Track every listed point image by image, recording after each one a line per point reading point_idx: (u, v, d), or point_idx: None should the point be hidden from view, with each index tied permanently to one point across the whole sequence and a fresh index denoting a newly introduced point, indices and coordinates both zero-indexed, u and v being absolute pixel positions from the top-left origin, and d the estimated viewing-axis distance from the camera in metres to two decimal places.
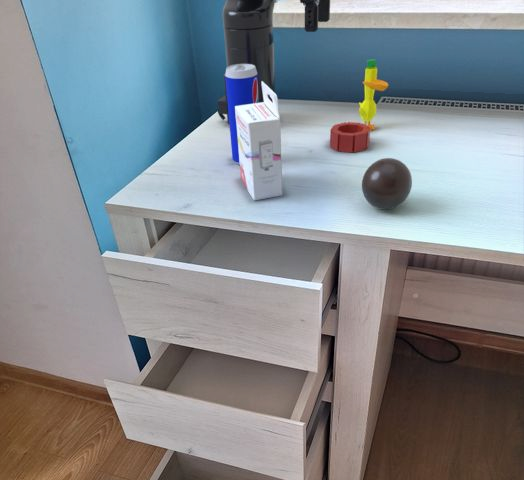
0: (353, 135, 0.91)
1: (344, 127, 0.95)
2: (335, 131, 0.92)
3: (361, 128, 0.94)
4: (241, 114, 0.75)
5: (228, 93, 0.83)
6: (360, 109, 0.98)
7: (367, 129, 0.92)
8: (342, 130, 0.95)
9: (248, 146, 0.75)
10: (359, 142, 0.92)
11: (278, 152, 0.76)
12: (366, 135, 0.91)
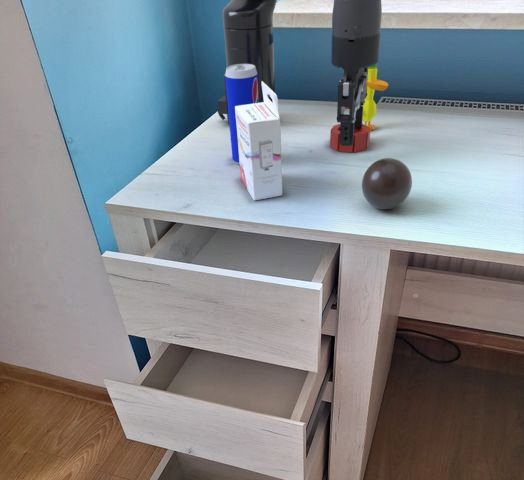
0: None
1: None
2: (335, 131, 0.92)
3: (361, 128, 0.94)
4: (241, 114, 0.75)
5: (228, 93, 0.83)
6: None
7: (367, 129, 0.92)
8: None
9: (248, 146, 0.75)
10: (359, 142, 0.92)
11: (278, 152, 0.76)
12: (366, 135, 0.92)
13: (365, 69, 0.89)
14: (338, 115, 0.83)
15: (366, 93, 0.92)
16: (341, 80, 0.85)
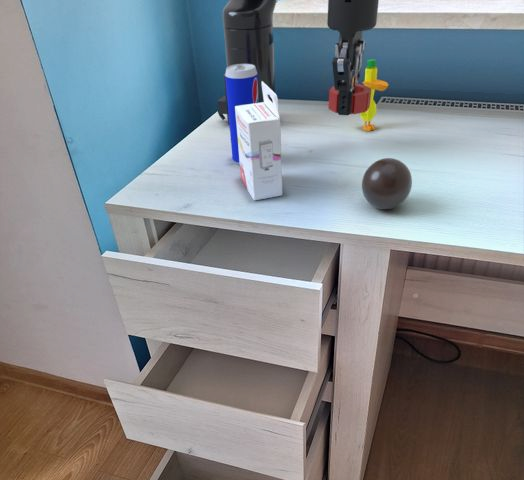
0: (353, 95, 0.86)
1: None
2: (334, 91, 0.88)
3: (361, 89, 0.89)
4: (241, 114, 0.75)
5: (228, 93, 0.83)
6: None
7: (368, 90, 0.88)
8: None
9: (248, 146, 0.75)
10: (359, 103, 0.87)
11: (278, 152, 0.76)
12: (366, 96, 0.87)
13: None
14: (336, 86, 0.83)
15: (359, 74, 0.87)
16: (336, 47, 0.81)
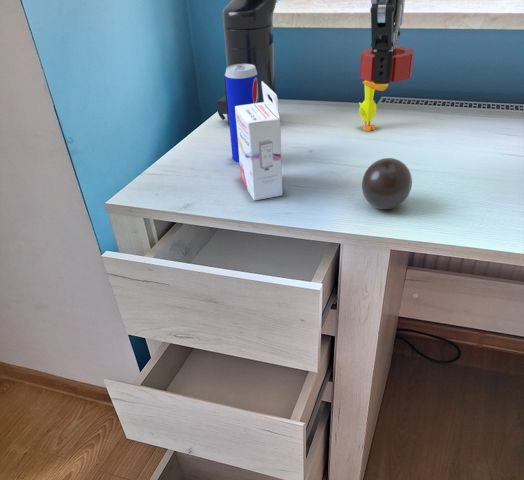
0: (393, 57, 0.68)
1: None
2: (368, 55, 0.69)
3: (401, 52, 0.71)
4: (241, 114, 0.75)
5: (228, 93, 0.83)
6: (360, 109, 0.98)
7: (410, 51, 0.69)
8: None
9: (248, 146, 0.75)
10: (401, 67, 0.69)
11: (278, 152, 0.76)
12: (410, 58, 0.69)
13: None
14: (373, 44, 0.64)
15: (399, 31, 0.69)
16: None
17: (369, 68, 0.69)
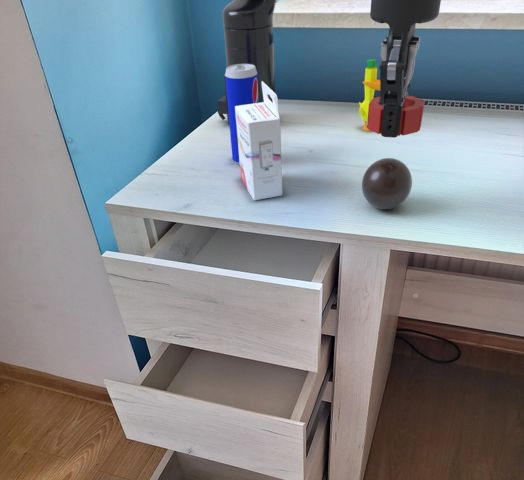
0: (403, 111, 0.64)
1: None
2: (376, 106, 0.66)
3: (411, 102, 0.67)
4: (241, 114, 0.75)
5: (228, 93, 0.83)
6: (360, 109, 0.98)
7: (421, 103, 0.66)
8: None
9: (248, 146, 0.75)
10: (411, 120, 0.65)
11: (278, 152, 0.76)
12: (420, 111, 0.65)
13: None
14: (382, 99, 0.61)
15: (409, 82, 0.65)
16: (383, 46, 0.59)
17: (377, 120, 0.66)
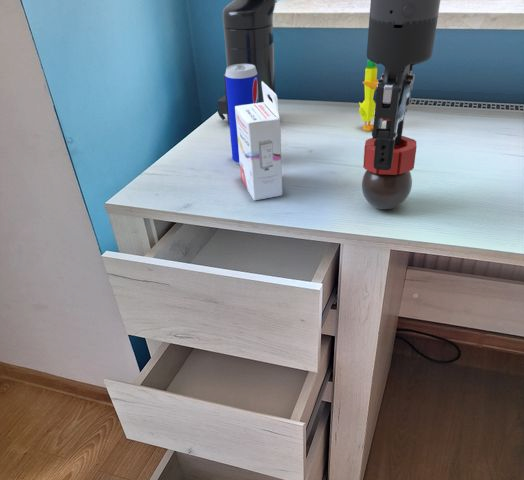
0: (399, 152, 0.68)
1: None
2: (372, 148, 0.69)
3: (403, 142, 0.71)
4: (241, 114, 0.75)
5: (228, 93, 0.83)
6: (360, 109, 0.98)
7: (413, 143, 0.70)
8: None
9: (248, 146, 0.75)
10: (406, 160, 0.69)
11: (278, 152, 0.76)
12: (414, 151, 0.69)
13: (410, 67, 0.66)
14: (374, 130, 0.60)
15: None
16: (379, 81, 0.62)
17: None
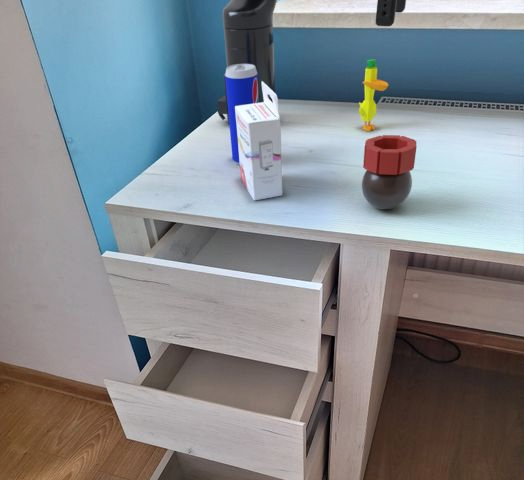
0: (399, 152, 0.68)
1: (379, 143, 0.72)
2: (372, 148, 0.69)
3: (403, 142, 0.71)
4: (241, 114, 0.75)
5: (228, 93, 0.83)
6: (360, 109, 0.98)
7: (413, 143, 0.70)
8: (377, 146, 0.72)
9: (248, 146, 0.75)
10: (406, 160, 0.69)
11: (278, 152, 0.76)
12: (414, 151, 0.69)
13: None
14: None
15: None
16: None
17: (374, 161, 0.69)
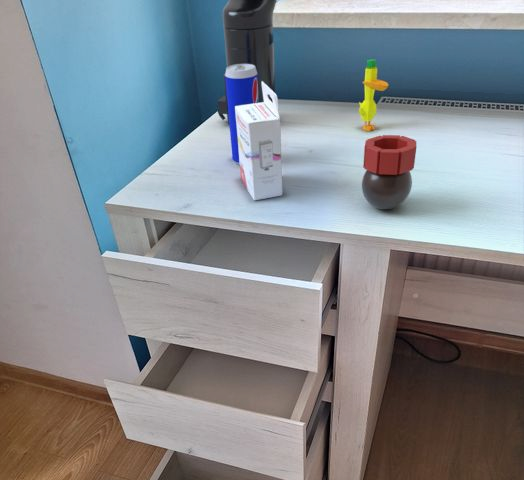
0: (399, 152, 0.68)
1: (379, 143, 0.72)
2: (372, 148, 0.69)
3: (403, 142, 0.71)
4: (241, 114, 0.75)
5: (228, 93, 0.83)
6: (360, 109, 0.98)
7: (413, 143, 0.70)
8: (377, 146, 0.72)
9: (248, 146, 0.75)
10: (406, 160, 0.69)
11: (278, 152, 0.76)
12: (414, 151, 0.69)
13: None
14: None
15: None
16: None
17: (374, 161, 0.69)
